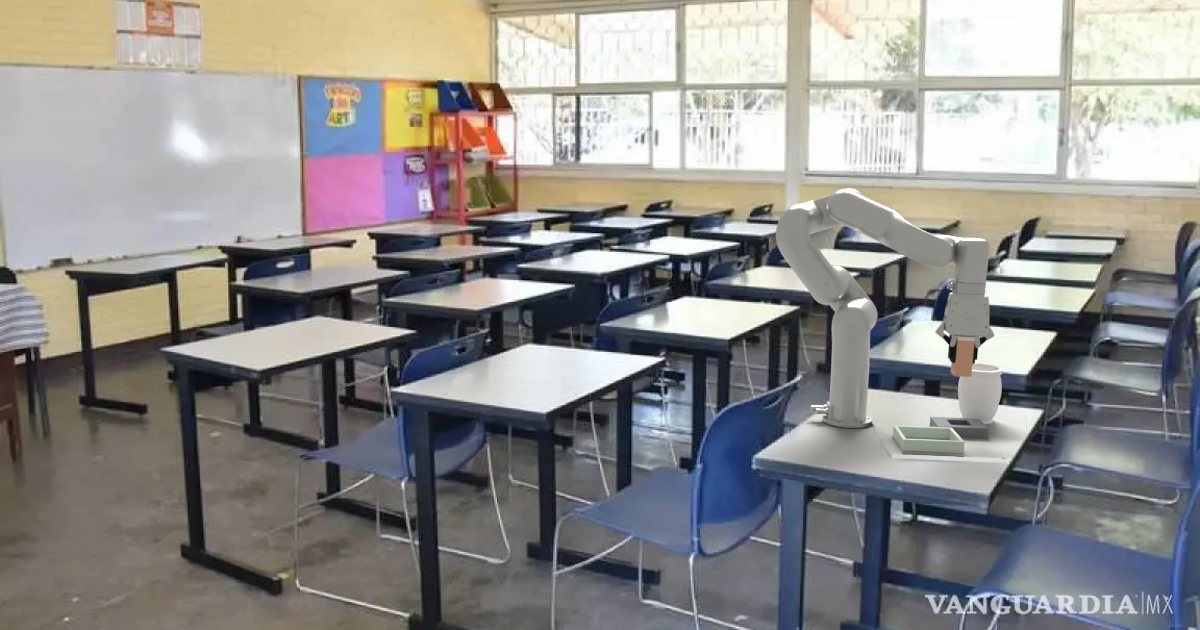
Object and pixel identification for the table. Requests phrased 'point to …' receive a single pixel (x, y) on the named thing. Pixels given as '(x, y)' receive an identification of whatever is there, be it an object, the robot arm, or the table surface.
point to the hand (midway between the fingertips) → (962, 361)
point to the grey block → (962, 426)
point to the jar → (980, 392)
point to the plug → (963, 356)
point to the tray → (949, 445)
